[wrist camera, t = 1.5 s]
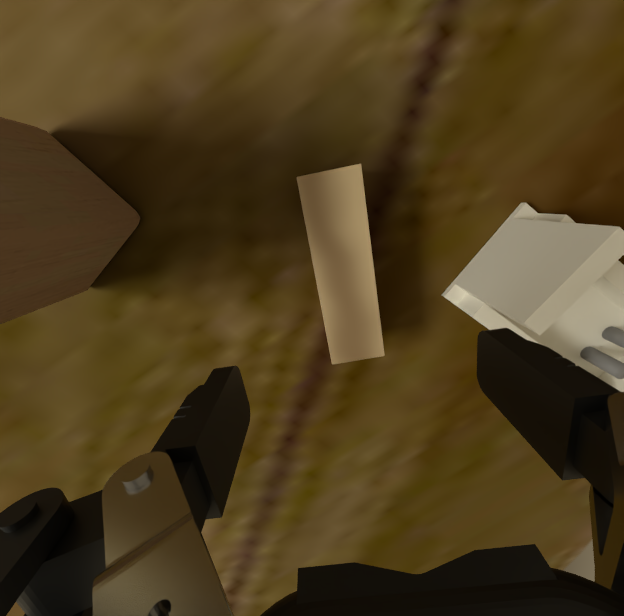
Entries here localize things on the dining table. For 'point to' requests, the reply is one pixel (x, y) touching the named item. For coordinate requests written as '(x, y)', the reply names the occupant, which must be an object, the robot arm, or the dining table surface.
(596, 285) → the peg cradle
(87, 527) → the robot arm
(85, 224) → the wooden block
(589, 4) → the dining table surface
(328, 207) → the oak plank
